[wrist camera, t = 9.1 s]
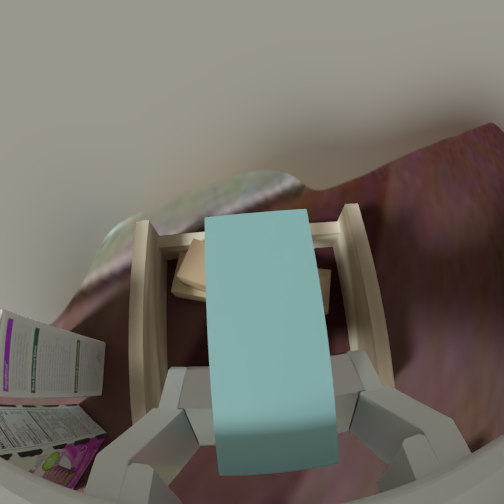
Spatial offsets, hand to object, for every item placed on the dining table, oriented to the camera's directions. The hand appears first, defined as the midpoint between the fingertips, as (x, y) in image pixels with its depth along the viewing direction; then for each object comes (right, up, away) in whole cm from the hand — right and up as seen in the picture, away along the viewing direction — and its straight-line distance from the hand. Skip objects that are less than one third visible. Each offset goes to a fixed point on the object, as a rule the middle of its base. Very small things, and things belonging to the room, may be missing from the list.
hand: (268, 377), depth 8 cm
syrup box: (-18, -8, +16) cm, 25 cm away
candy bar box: (-19, -17, +12) cm, 28 cm away
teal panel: (0, -3, +9) cm, 9 cm away
